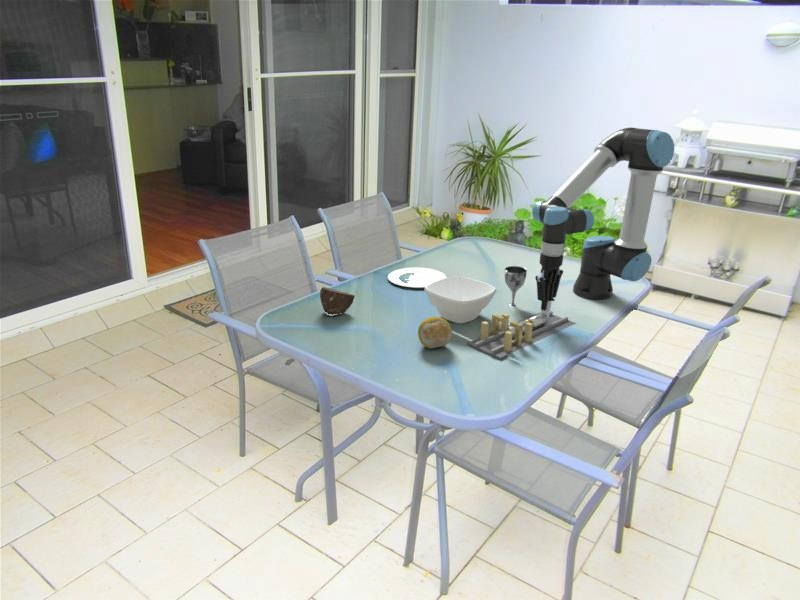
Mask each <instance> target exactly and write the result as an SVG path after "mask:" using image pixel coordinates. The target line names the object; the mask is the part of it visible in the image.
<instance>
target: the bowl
mask: <svg viewBox="0 0 800 600" xmlns="http://www.w3.org/2000/svg"><path fill="white" fill-rule="evenodd" d="M423 289H424V292H425V294H426V295H427V297H428V300H429V301H430V304H431V305H433V306H434V307H435V308H436V311H437V312H438V314H439V316H440V317H441V318H443V319H445V320H446V321H450V322H453V323H457V324H465V323H468V322H472V321H474V320H476V319H477V318H478V317H479V316H480V314H481V313H482V311H483V309H485V308H487V307H488V306H489V304H490V303H491V301H492V299H493V298H494V296H495V294H496V293H497V288H496V287H494V286H493V285H491V284H490V283H489V284H488V283H486V282H483V281H481V280H477V279H474V278H469V277H467V276H466V277H465V276H460V275H456V276H449V277H447V278H444V279H441V280H438V281H435V282H433V283H431V284H429V285H427V286H426V287H425V288H423Z"/></svg>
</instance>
